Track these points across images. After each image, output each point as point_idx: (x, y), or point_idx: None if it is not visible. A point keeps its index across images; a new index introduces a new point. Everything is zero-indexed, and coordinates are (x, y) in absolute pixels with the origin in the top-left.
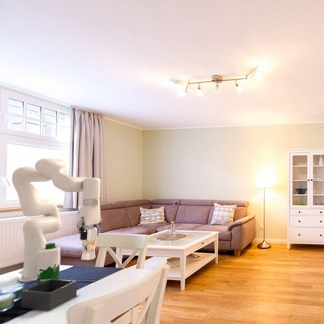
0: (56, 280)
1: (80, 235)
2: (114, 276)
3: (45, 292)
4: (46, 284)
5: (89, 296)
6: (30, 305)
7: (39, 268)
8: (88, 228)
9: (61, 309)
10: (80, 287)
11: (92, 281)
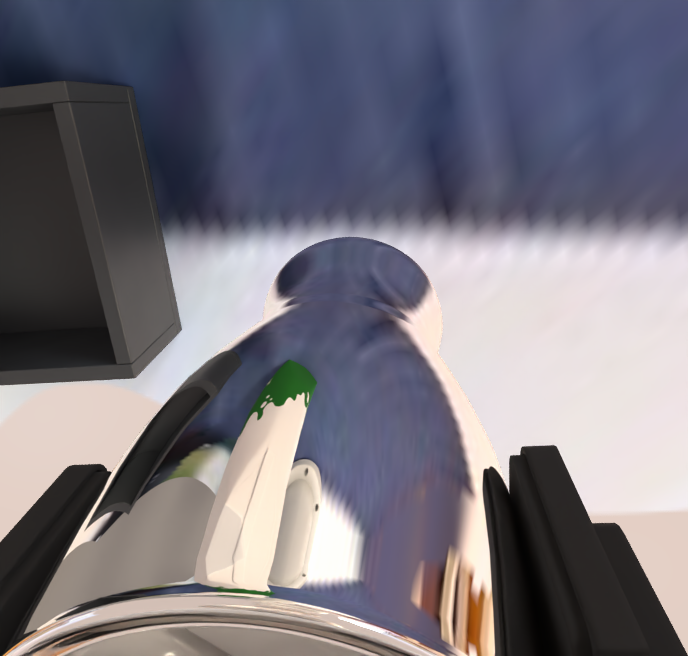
0: (70, 169)
1: (11, 540)
2: (619, 308)
3: None
4: (15, 109)
5: None
6: None
7: None
8: (424, 615)
9: (18, 395)
10: (318, 217)
11: (462, 206)
